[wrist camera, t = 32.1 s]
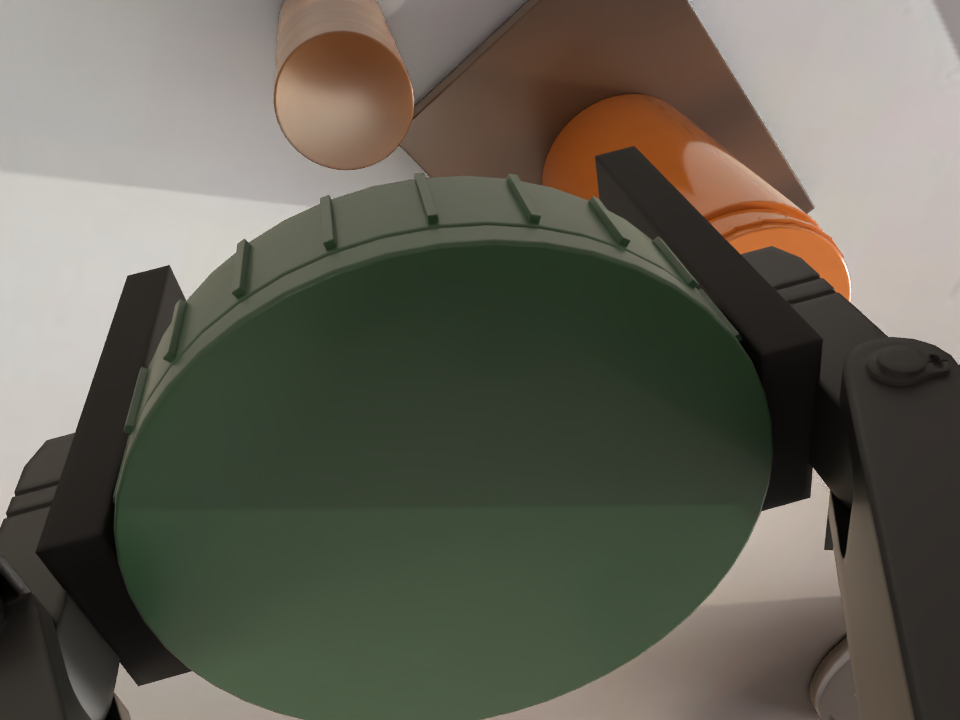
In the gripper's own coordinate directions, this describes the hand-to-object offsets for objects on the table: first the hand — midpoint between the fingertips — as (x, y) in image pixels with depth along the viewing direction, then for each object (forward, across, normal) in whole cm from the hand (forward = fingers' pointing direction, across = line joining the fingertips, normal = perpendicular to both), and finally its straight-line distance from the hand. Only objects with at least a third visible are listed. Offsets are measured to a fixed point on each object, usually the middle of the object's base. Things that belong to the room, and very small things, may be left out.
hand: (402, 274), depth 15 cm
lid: (-6, 0, 0) cm, 6 cm away
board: (+19, +10, -8) cm, 23 cm away
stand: (+19, 0, 0) cm, 19 cm away
